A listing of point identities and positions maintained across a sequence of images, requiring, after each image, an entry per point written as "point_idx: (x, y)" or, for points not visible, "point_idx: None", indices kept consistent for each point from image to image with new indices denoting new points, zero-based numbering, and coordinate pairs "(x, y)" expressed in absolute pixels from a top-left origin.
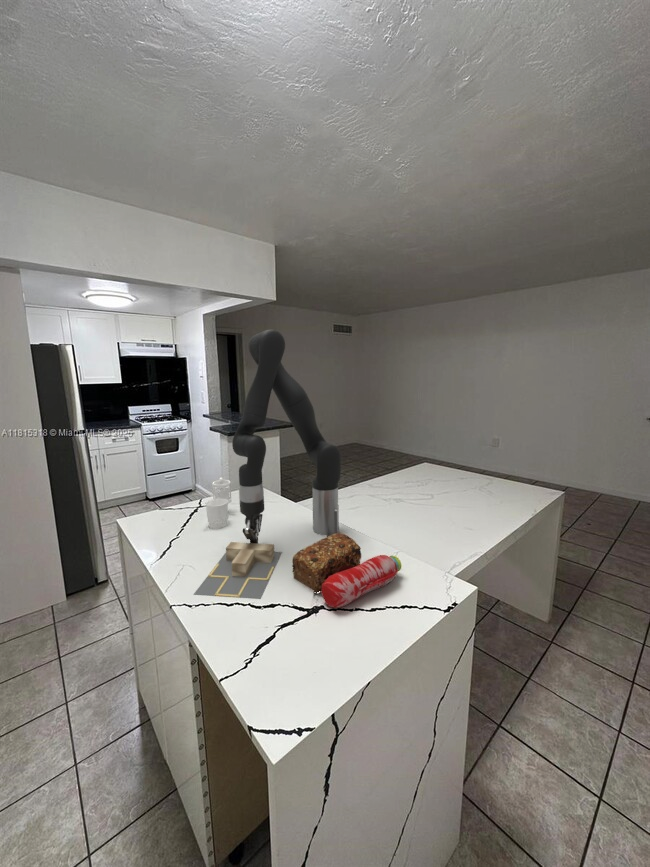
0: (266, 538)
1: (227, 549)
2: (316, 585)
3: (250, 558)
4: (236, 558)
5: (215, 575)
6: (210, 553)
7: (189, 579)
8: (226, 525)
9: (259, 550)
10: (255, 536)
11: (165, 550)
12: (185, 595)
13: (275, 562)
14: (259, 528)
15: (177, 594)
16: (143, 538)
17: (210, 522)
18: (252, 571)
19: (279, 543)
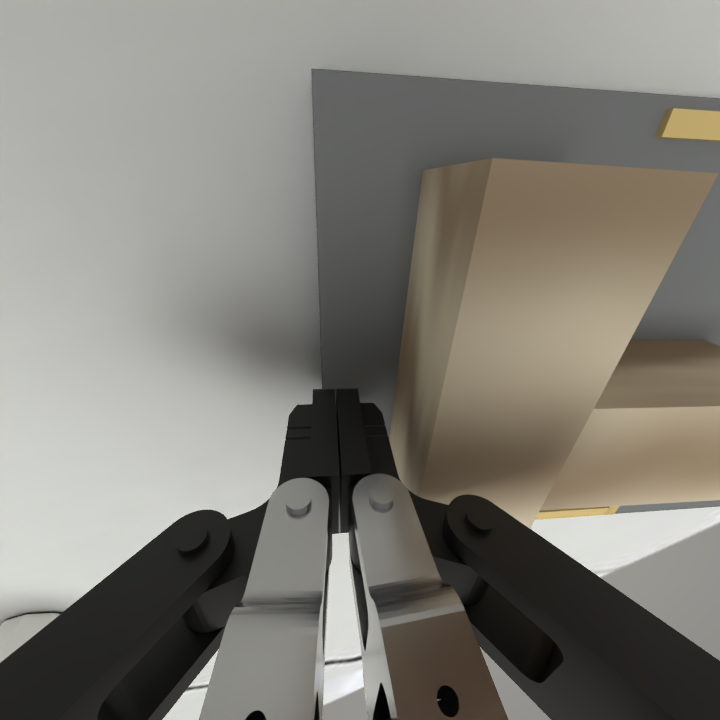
0: (18, 365)
1: None
2: None
3: (683, 387)
4: (702, 491)
5: None
6: (349, 567)
7: (565, 547)
8: (26, 631)
9: (620, 348)
10: (418, 521)
11: (341, 662)
12: (679, 517)
13: (565, 117)
14: (260, 612)
15: (658, 538)
16: None
17: None
18: (649, 315)
19: (44, 194)
